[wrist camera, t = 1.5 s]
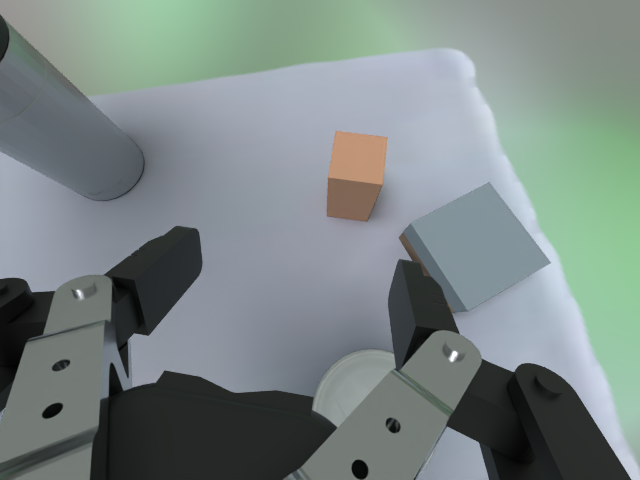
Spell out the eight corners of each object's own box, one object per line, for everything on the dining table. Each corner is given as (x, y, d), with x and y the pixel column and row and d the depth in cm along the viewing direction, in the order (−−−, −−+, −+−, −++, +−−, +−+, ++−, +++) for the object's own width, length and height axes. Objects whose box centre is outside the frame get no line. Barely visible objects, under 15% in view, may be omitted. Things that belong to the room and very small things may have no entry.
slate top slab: (403, 232, 33) (410, 223, 30) (475, 194, 34) (489, 182, 32) (454, 312, 31) (468, 311, 28) (530, 268, 32) (550, 262, 29)
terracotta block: (326, 216, 36) (328, 177, 27) (332, 179, 38) (335, 130, 28) (366, 221, 36) (382, 184, 27) (371, 185, 38) (387, 137, 28)
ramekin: (296, 431, 30) (290, 453, 25) (339, 328, 33) (342, 328, 28) (398, 485, 29) (415, 520, 24) (435, 372, 32) (456, 382, 26)
